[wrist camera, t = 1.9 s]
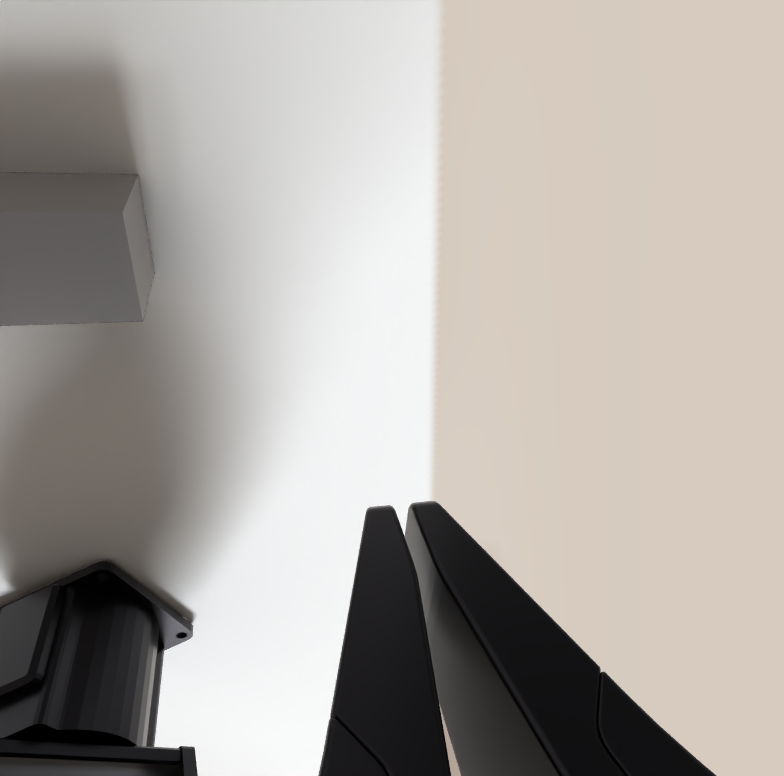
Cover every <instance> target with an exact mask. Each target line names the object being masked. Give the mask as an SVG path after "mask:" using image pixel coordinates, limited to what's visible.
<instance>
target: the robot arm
mask: <svg viewBox="0 0 784 776" xmlns="http://www.w3.org/2000/svg"><path fill="white" fill-rule="evenodd" d="M192 636H193V625H192V624H191V623H190V622H188V621H187V620H186V619H185V618H183V617H182V616H181V615H179V614H178V613H177V612H175V611H174V610H173V609H172V608H170V607H169V606H168V605H166V604H165V603H164V602H162V601H161V600H160V599H159V598H157V597H156V596H155V595H153V594H152V593H151V592H149V591H148V590H147V589H146V588H144V587H143V586H142V585H140V584H139V583H138V582H136V581H135V580H134V579H133V578H131V577H130V576H129V575H127V574H126V573H125V572H123V571H122V570H121V569H120V568H118V567H117V566H116V565H114V564H112V563H110V562H99V563H96V564H94V565H92V566H90V567H87V568H85V569H83V570H81V571H79V572H77V573H74V574H72V575H70V576H68V577H66V578H64V579H61V580H59V581H57V582H55V583H53V584H51V585H49V586H46V587H44V588H42V589H40V590H38V591H36V592H33V593H31V594H29V595H27V596H25V597H23V598H20V599H18V600H16V601H14V602H12V603H10V604H8V605H5V606H3V607H1V608H0V776H198V775H197V766H196V756H195V748H194V747H188V746H180V747H179V748H162V747H154V743H155V733H156V723H157V713H158V704H159V694H160V684H161V674H162V665H163V655H164V650H167V649H169V648H171V647H173V646H176V645H178V644H180V643H182V642H185V641H187V640H189V639H190V638H191V637H192ZM439 704H440V706H439ZM440 707H441V710H442V714H443V717H444V720H445V723H446V727H447V730H448V733H449V736H450V740H451V743H452V747H453V750H454V753H455V756H456V760H457V763H458V766H459V770H460V773H461V776H716V775H715V774H714V773H713V772H711V771H710V770H709V769H708V768H707V767H706V766H704V765H703V764H702V763H701V762H700V761H699V760H697V759H696V758H695V757H694V756H693V755H692V754H691V753H689V752H688V751H687V750H686V749H685V748H684V747H683V746H682V745H680V744H679V743H678V742H677V741H676V740H675V739H674V738H673V737H671V736H670V735H669V734H668V733H667V732H666V731H665V730H664V729H663V728H661V727H660V726H659V725H658V724H657V723H656V722H655V721H654V720H653V719H652V718H651V717H650V716H649V715H648V714H647V713H646V712H645V711H644V710H643V709H642V708H641V707H639V706H638V705H637V704H636V703H635V702H634V701H633V700H632V699H631V698H630V697H629V696H628V695H627V694H626V693H625V692H624V691H623V690H622V689H621V688H620V687H619V686H618V685H617V684H616V683H615V682H614V681H613V680H612V679H611V678H610V677H609V676H608V675H607V674H606V673H605V672H601V673H600V667H599V666H598V665H597V664H596V663H595V662H594V661H593V660H592V659H591V658H590V657H589V656H588V655H587V654H586V653H585V652H584V651H583V650H582V649H581V648H580V647H579V646H578V644H576V642H575V641H574V640H573V639H571V637H570V636H569V635H568V634H567V633H566V632H565V631H564V630H563V629H562V628H561V627H560V626H559V625H558V624H557V623H556V622H555V621H554V620H553V619H552V618H551V617H550V616H549V615H548V614H547V613H546V612H545V611H544V610H543V609H542V608H541V607H540V606H539V605H538V604H537V603H536V602H535V601H534V600H533V599H532V598H531V597H530V596H529V595H528V594H527V593H526V592H525V591H524V590H523V589H522V588H521V587H520V586H519V585H518V584H517V583H516V582H515V581H514V580H513V578H511V576H509V574H508V573H507V572H506V571H505V570H504V569H503V568H502V567H501V566H499V564H498V563H497V562H496V561H495V560H494V559H493V558H492V557H491V556H490V555H489V554H488V553H487V552H486V551H485V550H484V549H483V548H482V547H481V546H480V545H479V544H478V543H477V542H476V541H475V540H474V539H473V538H472V537H471V536H470V535H469V534H468V533H467V532H466V531H465V530H464V529H463V528H462V527H461V526H460V525H459V524H458V523H457V522H456V521H455V520H454V519H453V518H452V517H451V516H450V515H449V514H448V513H447V512H446V510H445V509H444V508H443V507H442V506H441V505H440V504H438V503H437V502H435V501H427V502H417V503H412V504H411V505H410V507H409V509H408V516H407V523H406V531H405V537H404V534H403V531H402V528H401V525H400V523H399V520H398V517H397V514H396V511H395V509H394V508H393V507H392V506H390V505H387V506H376V507H369V508H368V509H367V511H366V515H365V521H364V527H363V532H362V538H361V544H360V549H359V555H358V561H357V567H356V572H355V578H354V584H353V589H352V595H351V601H350V606H349V612H348V618H347V623H346V629H345V635H344V640H343V646H342V652H341V657H340V663H339V669H338V674H337V680H336V686H335V691H334V697H333V703H332V708H331V718H330V720H329V724H328V729H327V735H326V741H325V746H324V752H323V757H322V761H321V766H320V771H319V776H451V772H450V767H449V760H448V754H447V748H446V742H445V736H444V730H443V724H442V719H441V712H440Z"/></svg>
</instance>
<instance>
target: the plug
mask: <svg viewBox="0 0 784 776" xmlns="http://www.w3.org/2000/svg"><path fill="white" fill-rule="evenodd" d="M154 274H155V272H154V266H153V260H152V254H151V248H150V242H149V236H148V230H147V224H146V218H145V212H144V206H143V200H142V193H141V187H140V181H139V175H138V174H85V173H22V172H0V326H11V325H42V324H74V323H105V322H136V321H143V319H144V315H145V311H146V307H147V303H148V298H149V294H150V290H151V286H152V282H153V278H154Z"/></svg>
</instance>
